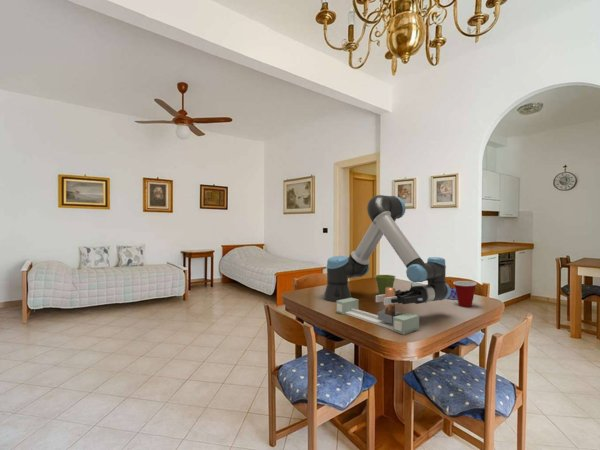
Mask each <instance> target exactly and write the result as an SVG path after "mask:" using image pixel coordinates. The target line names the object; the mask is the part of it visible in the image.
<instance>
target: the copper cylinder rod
mask: <svg viewBox="0 0 600 450" xmlns="http://www.w3.org/2000/svg"><path fill="white" fill-rule="evenodd" d="M395 291H396V288H395V287H393V288H392V287H387V288H385V298H387V297H394V296H395ZM384 307H385V309H384V310H380V311H377V315H378V319H379V320H382V321H386V322H389V323H393V317H395V316H399V315H402V314H404V313H403V312H400V311H396V303H395V304H389V305H384Z"/></svg>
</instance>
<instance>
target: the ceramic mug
mask: <svg viewBox="0 0 600 450" xmlns="http://www.w3.org/2000/svg"><path fill="white" fill-rule="evenodd" d="M420 285H425V284H424V283H420V282H411V284H410V288H411V287H413V286H420Z"/></svg>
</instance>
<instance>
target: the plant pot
mask: <svg viewBox="0 0 600 450" xmlns="http://www.w3.org/2000/svg"><path fill="white" fill-rule="evenodd" d="M374 277H375V280H376V284H377V290H378V295H383V294H385V288H387V287H392V288H394V282H395V279H396V276H395V275H392V274H376V275H374Z"/></svg>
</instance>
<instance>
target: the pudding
mask: <svg viewBox="0 0 600 450" xmlns="http://www.w3.org/2000/svg"><path fill="white" fill-rule="evenodd" d="M449 288H450V289H451V294H450V296H449V297H448V298H447V299H448V300H458V298H457V293H456V289H455V287H449ZM447 299H446V300H447Z"/></svg>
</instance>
